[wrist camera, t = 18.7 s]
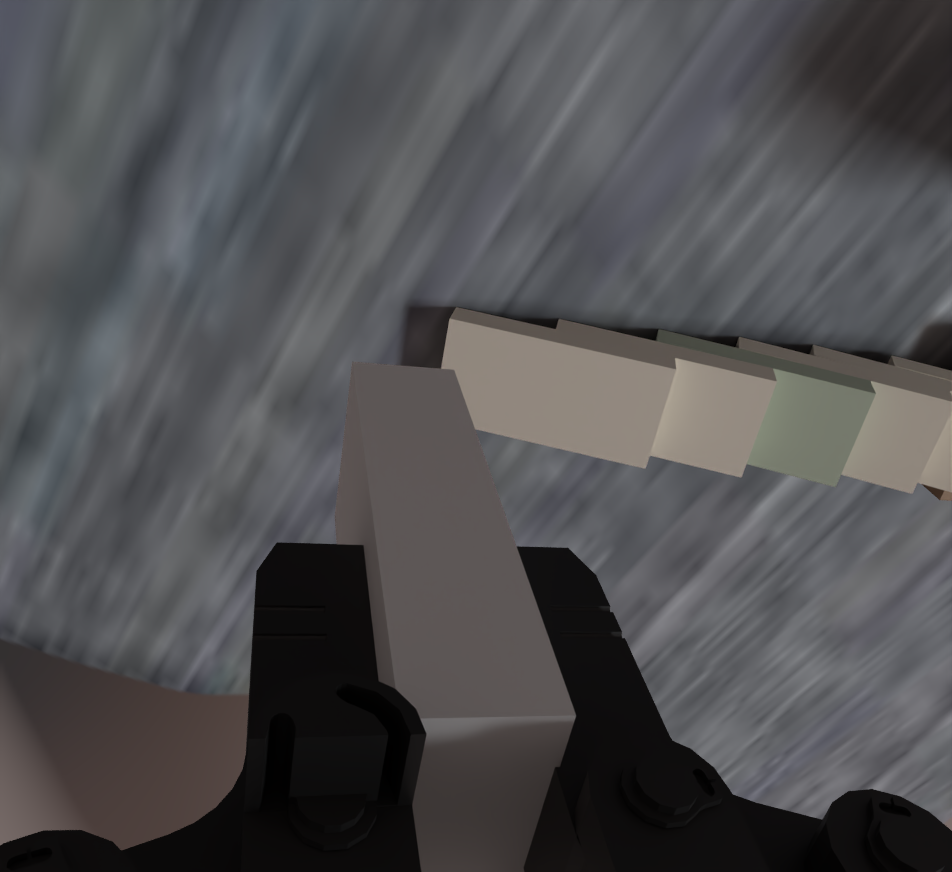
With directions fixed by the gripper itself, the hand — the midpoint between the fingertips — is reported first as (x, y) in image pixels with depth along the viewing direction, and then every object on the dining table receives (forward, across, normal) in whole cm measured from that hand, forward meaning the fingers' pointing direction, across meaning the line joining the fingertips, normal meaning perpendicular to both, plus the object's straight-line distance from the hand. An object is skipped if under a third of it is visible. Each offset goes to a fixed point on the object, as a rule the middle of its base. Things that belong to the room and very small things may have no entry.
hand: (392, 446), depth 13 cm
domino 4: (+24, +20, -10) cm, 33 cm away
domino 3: (+24, +16, -10) cm, 31 cm away
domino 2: (+24, +11, -10) cm, 28 cm away
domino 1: (+24, +6, -10) cm, 27 cm away
